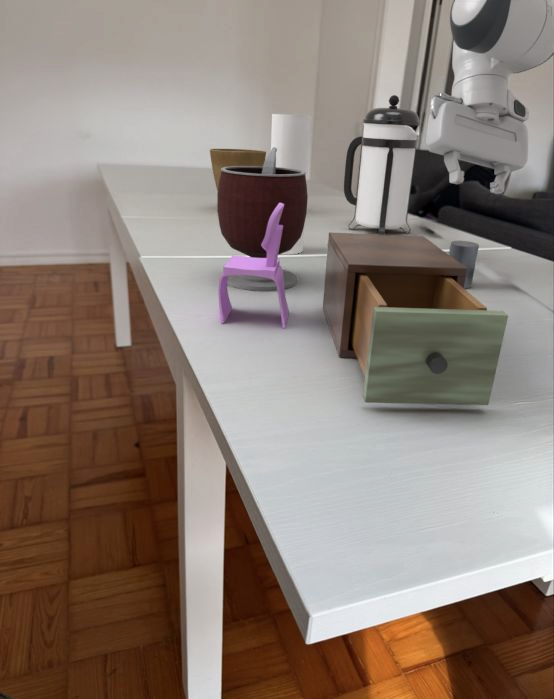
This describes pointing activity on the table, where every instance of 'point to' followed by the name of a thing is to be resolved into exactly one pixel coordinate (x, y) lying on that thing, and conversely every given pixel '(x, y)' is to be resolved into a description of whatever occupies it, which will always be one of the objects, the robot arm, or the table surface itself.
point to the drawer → (424, 340)
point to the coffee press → (383, 167)
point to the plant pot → (234, 159)
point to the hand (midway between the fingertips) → (477, 187)
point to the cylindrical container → (292, 149)
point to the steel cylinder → (465, 257)
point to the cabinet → (375, 257)
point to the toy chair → (258, 267)
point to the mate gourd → (261, 213)
